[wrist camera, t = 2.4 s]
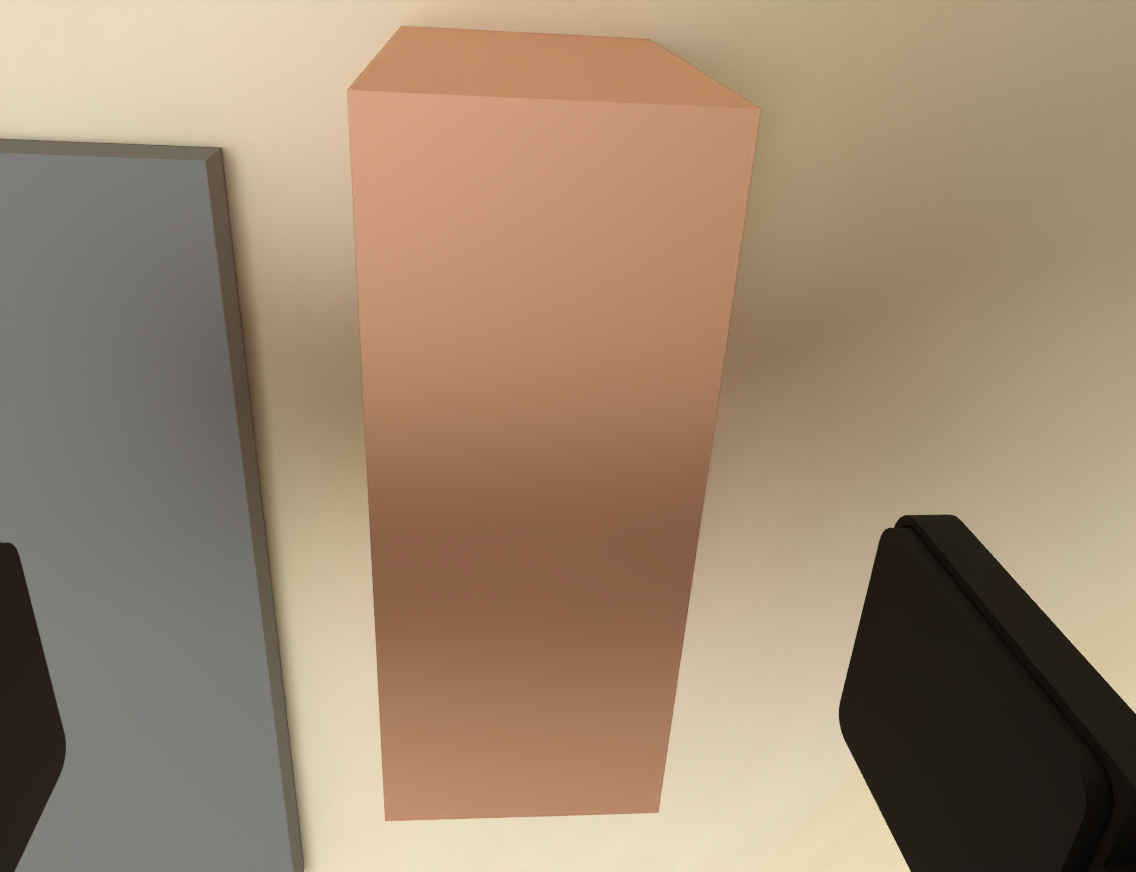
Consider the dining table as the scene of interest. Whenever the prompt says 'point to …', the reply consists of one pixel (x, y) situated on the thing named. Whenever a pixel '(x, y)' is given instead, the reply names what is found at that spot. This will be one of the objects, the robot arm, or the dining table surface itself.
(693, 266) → the card box
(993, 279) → the dining table surface
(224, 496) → the mat
